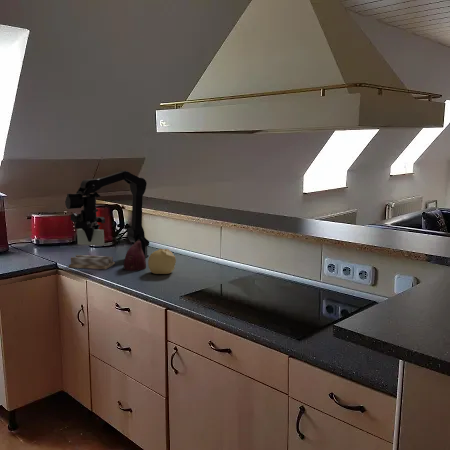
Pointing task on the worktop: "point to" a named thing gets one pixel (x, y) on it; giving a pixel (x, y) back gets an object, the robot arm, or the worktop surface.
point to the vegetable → (135, 258)
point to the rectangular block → (96, 238)
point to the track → (91, 262)
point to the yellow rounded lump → (161, 262)
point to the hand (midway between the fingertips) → (91, 241)
